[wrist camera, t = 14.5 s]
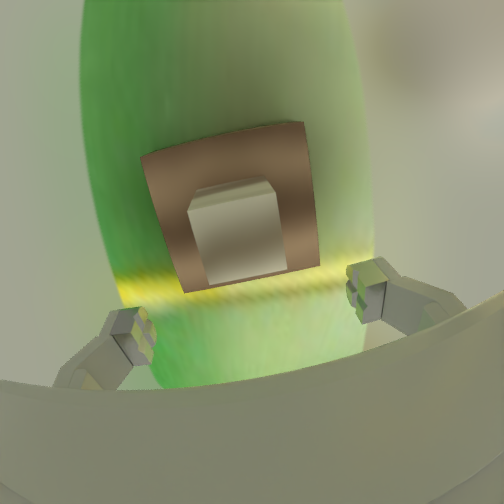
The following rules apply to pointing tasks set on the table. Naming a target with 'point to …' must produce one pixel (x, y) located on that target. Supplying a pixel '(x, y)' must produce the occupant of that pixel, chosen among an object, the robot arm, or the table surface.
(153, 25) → the table surface
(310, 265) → the walnut base
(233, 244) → the ash cube
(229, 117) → the table surface
